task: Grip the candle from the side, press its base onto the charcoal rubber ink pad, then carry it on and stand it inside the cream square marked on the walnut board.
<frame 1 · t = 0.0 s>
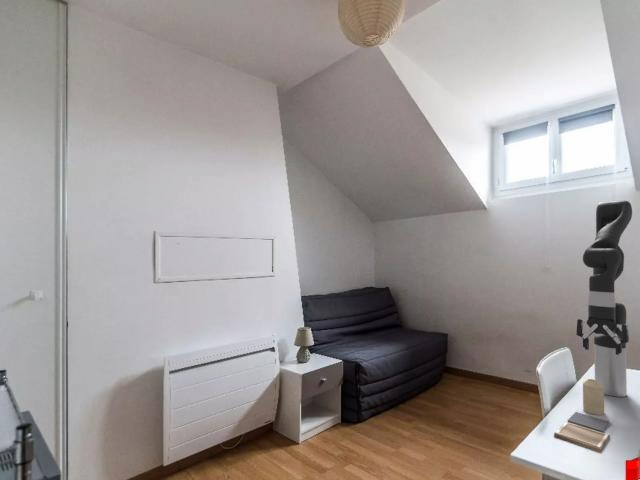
hand: (601, 351, 125), 17 cm above the table, tool pointing down, fingers open, 8 cm apart
ink pad: (588, 422, 109), on the table
target board: (581, 437, 100), on the table
candle: (593, 412, 117), on the table
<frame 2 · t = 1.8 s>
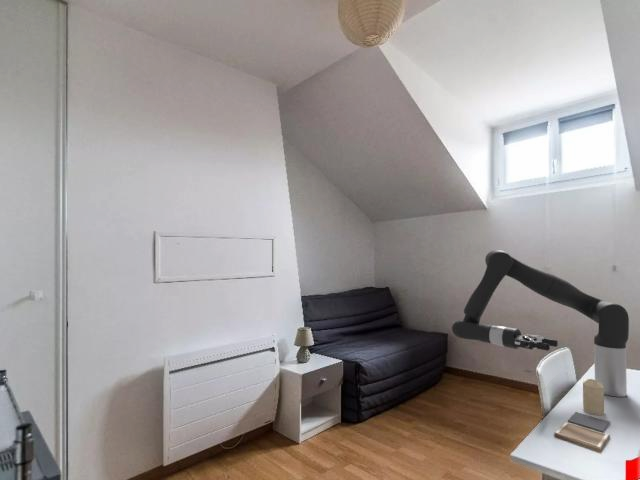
hand: (553, 345, 126), 19 cm above the table, tool horizontal, fingers open, 8 cm apart
nothing on the table moved.
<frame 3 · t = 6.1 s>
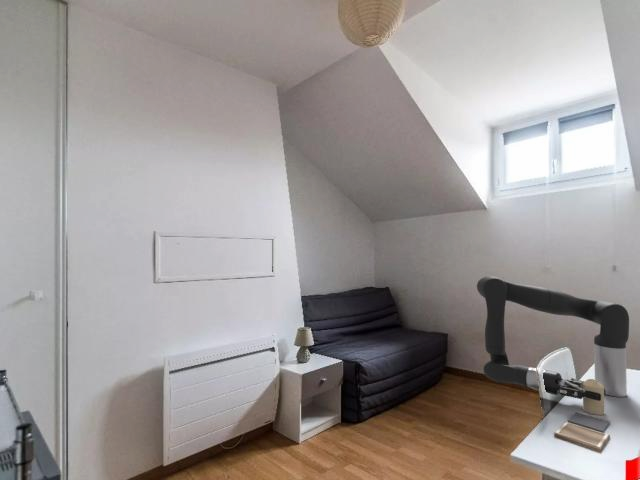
hand: (602, 395, 115), 6 cm above the table, tool horizontal, fingers closed on candle, 5 cm apart
candle: (593, 412, 117), on the table, touching gripper
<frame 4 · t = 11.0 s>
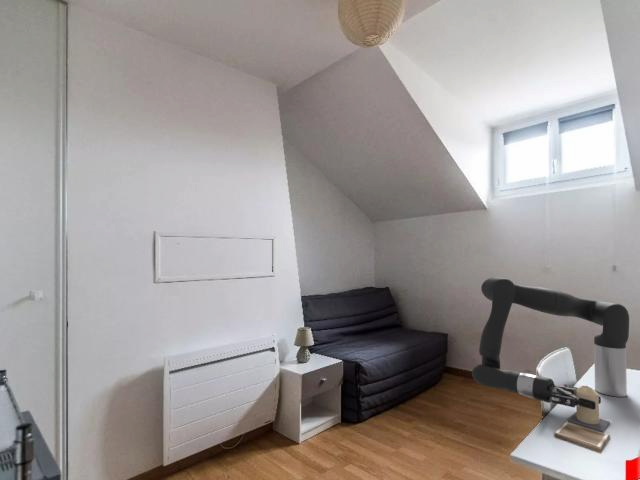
hand: (597, 403, 107), 7 cm above the table, tool horizontal, fingers closed on candle, 5 cm apart
candle: (587, 421, 109), resting on ink pad, touching gripper
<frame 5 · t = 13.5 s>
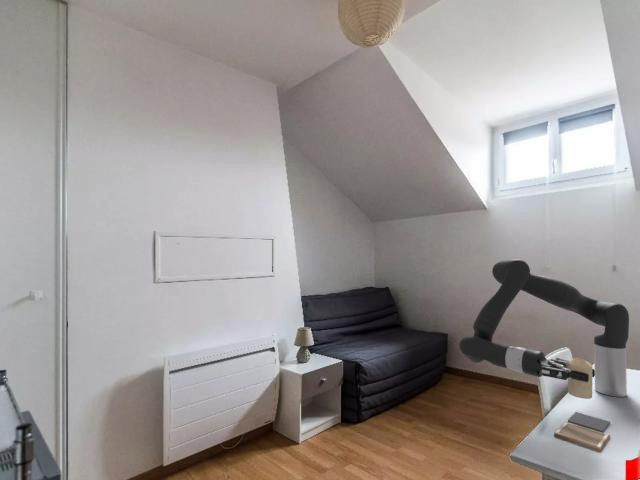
hand: (591, 375, 99), 18 cm above the table, tool horizontal, fingers closed on candle, 5 cm apart
candle: (579, 395, 101), point 11 cm above the table, touching gripper
when the fingers open (8 cm above the table, at t = 15.8 s): candle stays where it is, resting on target board.
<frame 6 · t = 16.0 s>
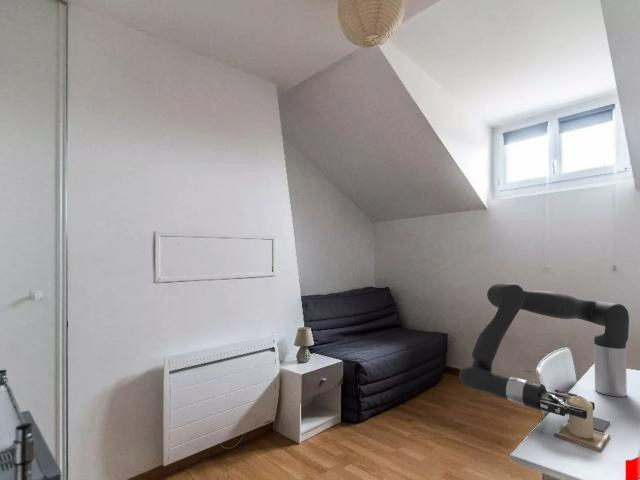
hand: (590, 410, 99), 8 cm above the table, tool horizontal, fingers open, 7 cm apart
candle: (580, 434, 100), point 1 cm above the table, touching target board
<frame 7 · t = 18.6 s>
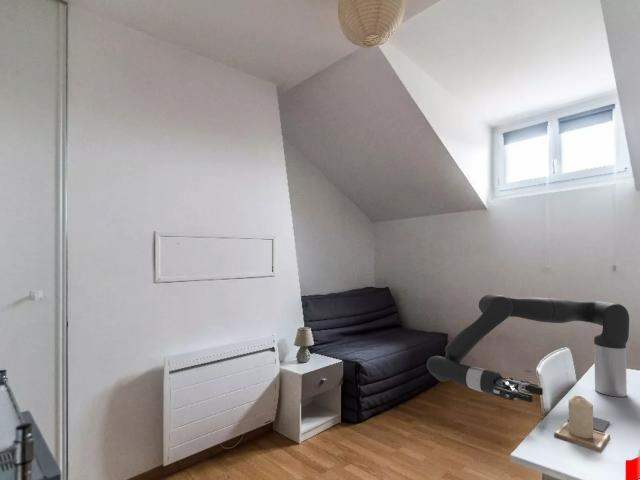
hand: (537, 395, 109), 8 cm above the table, tool horizontal, fingers open, 8 cm apart
nothing on the table moved.
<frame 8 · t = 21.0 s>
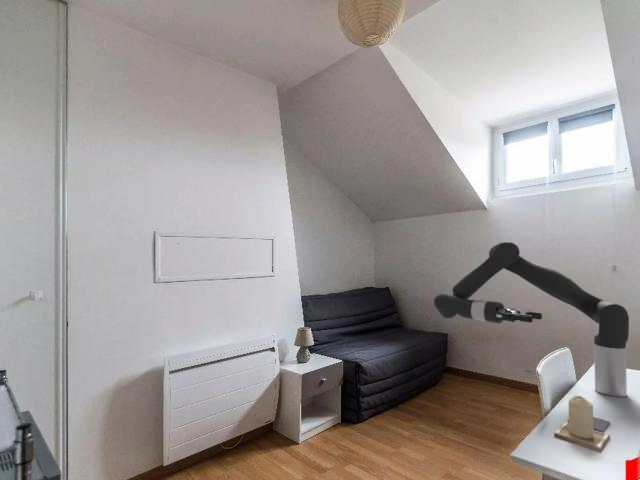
hand: (537, 317, 118), 30 cm above the table, tool horizontal, fingers open, 8 cm apart
nothing on the table moved.
at the end: candle 0.2 cm off-centre on the target board, point 0.6 cm above the target board's base; candle tilted 0°; the gripper is holding nothing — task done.
